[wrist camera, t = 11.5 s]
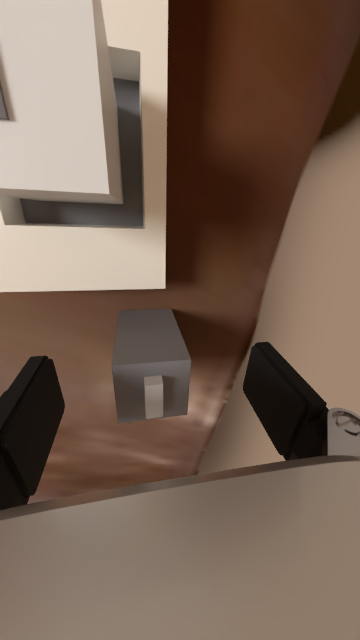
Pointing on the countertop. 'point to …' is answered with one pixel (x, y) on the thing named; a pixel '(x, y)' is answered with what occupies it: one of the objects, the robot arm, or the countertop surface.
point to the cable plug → (150, 366)
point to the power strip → (137, 181)
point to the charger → (57, 103)
